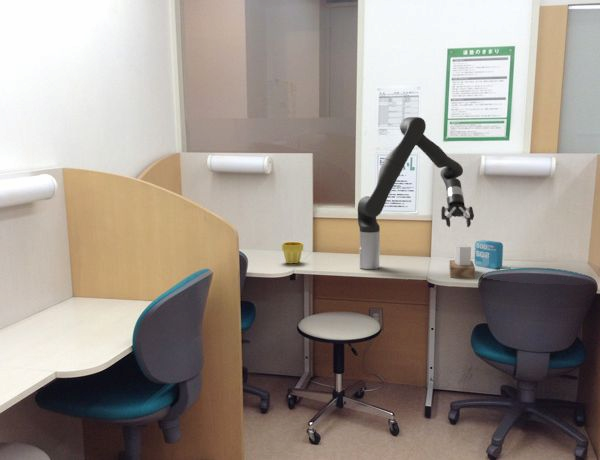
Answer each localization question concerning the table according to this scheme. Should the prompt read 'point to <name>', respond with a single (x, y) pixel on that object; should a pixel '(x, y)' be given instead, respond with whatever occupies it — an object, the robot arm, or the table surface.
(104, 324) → the table surface
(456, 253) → the white block
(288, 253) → the plant pot
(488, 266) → the data package
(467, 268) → the walnut block
